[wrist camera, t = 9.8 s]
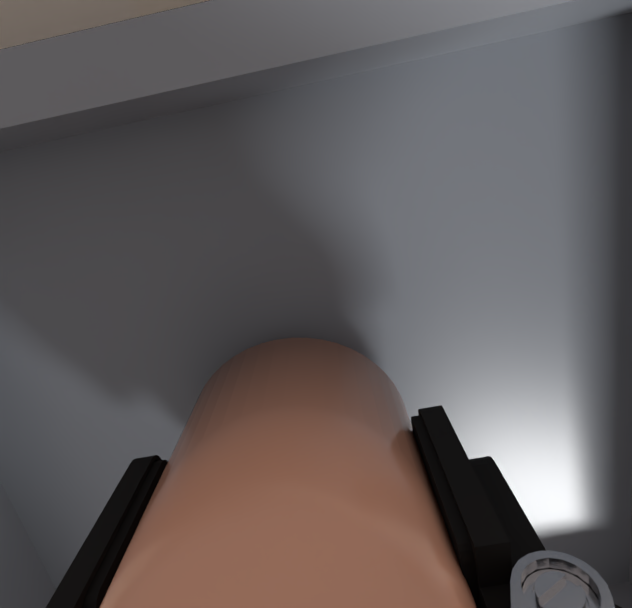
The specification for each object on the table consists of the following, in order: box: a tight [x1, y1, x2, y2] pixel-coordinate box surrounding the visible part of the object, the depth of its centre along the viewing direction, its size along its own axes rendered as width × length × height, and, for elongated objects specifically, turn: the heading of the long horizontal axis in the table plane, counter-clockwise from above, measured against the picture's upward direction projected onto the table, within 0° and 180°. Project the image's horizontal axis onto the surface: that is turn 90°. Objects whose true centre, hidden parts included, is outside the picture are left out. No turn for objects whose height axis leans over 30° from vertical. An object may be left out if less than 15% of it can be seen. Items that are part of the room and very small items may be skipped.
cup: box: [100, 338, 477, 608], centre depth 8 cm, size 6×6×9 cm
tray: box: [0, 0, 632, 608], centre depth 13 cm, size 20×22×4 cm
